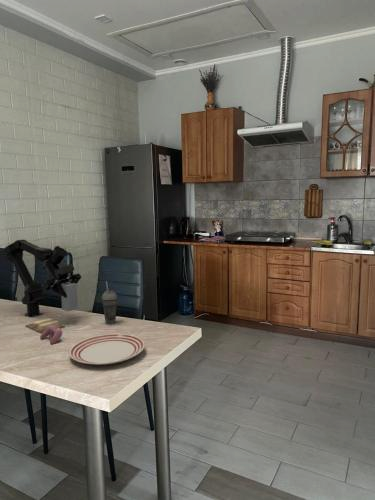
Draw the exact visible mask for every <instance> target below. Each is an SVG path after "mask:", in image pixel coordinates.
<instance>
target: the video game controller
mask: <svg viewBox="0 0 375 500" xmlns="http://www.w3.org/2000/svg"><path fill="white" fill-rule="evenodd" d="M62 336H63V330H62V328H59V327H58V326H54V325H53V326H49V327H47V328H46V330H45V331H44V332H43V333H40V337H39V338H40V340H45V339H46V338H48V339H50V340H49V344H50V345H54V344H56V343H57V342H58V340H59V339H60V338H61V337H62Z"/></svg>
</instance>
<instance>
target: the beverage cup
mask: <svg viewBox="0 0 375 500" xmlns="http://www.w3.org/2000/svg"><path fill="white" fill-rule="evenodd" d="M105 285H106V291H104V293H102V295H101V302H102V306H103V307H102V308H103V314H104V321H105V325H115V324H116V317H117V303H118V295H117V294H116V292H115V291H114V290H111V289H109V287H108V285H109V284H108V281H107V280H106V281H105Z"/></svg>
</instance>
